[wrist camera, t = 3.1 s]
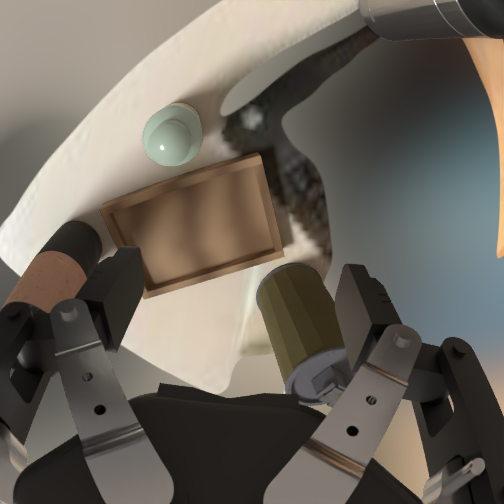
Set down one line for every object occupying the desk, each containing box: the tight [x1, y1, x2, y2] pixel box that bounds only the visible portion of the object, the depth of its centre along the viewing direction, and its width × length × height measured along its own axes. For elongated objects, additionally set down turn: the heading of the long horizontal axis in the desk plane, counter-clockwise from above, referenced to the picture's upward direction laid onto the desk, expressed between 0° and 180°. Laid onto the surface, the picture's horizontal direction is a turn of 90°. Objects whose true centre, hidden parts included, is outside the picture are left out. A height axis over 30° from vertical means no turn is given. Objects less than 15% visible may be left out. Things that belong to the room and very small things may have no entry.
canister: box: [256, 263, 357, 408], centre depth 40 cm, size 11×10×20 cm
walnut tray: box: [99, 152, 285, 299], centre depth 40 cm, size 20×14×2 cm
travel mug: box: [0, 221, 102, 377], centre depth 30 cm, size 8×8×20 cm
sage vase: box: [142, 103, 203, 166], centre depth 28 cm, size 5×5×14 cm
